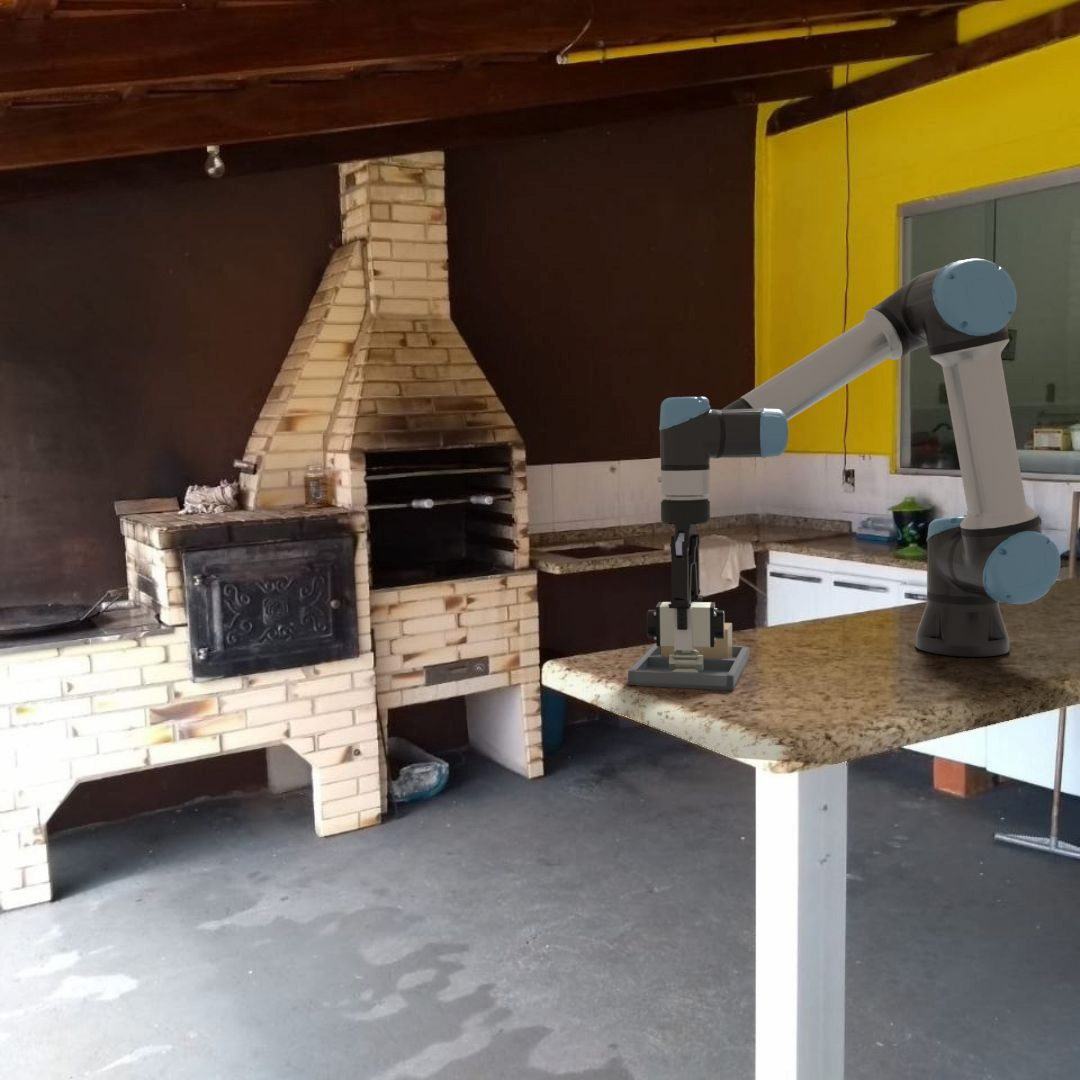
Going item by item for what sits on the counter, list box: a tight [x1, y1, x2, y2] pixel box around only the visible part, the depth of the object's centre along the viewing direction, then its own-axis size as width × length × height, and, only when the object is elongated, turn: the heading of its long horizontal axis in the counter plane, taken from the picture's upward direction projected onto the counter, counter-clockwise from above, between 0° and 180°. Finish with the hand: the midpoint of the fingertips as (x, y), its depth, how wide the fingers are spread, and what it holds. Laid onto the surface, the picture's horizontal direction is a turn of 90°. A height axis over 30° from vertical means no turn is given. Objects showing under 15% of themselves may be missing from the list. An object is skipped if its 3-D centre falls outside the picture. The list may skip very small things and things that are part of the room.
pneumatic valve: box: [646, 601, 725, 673], centre depth 164 cm, size 6×12×12 cm, turn 78°
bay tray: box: [627, 622, 750, 692], centre depth 170 cm, size 16×23×7 cm
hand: (686, 645), depth 164 cm, fingers closed on pneumatic valve, 5 cm apart
